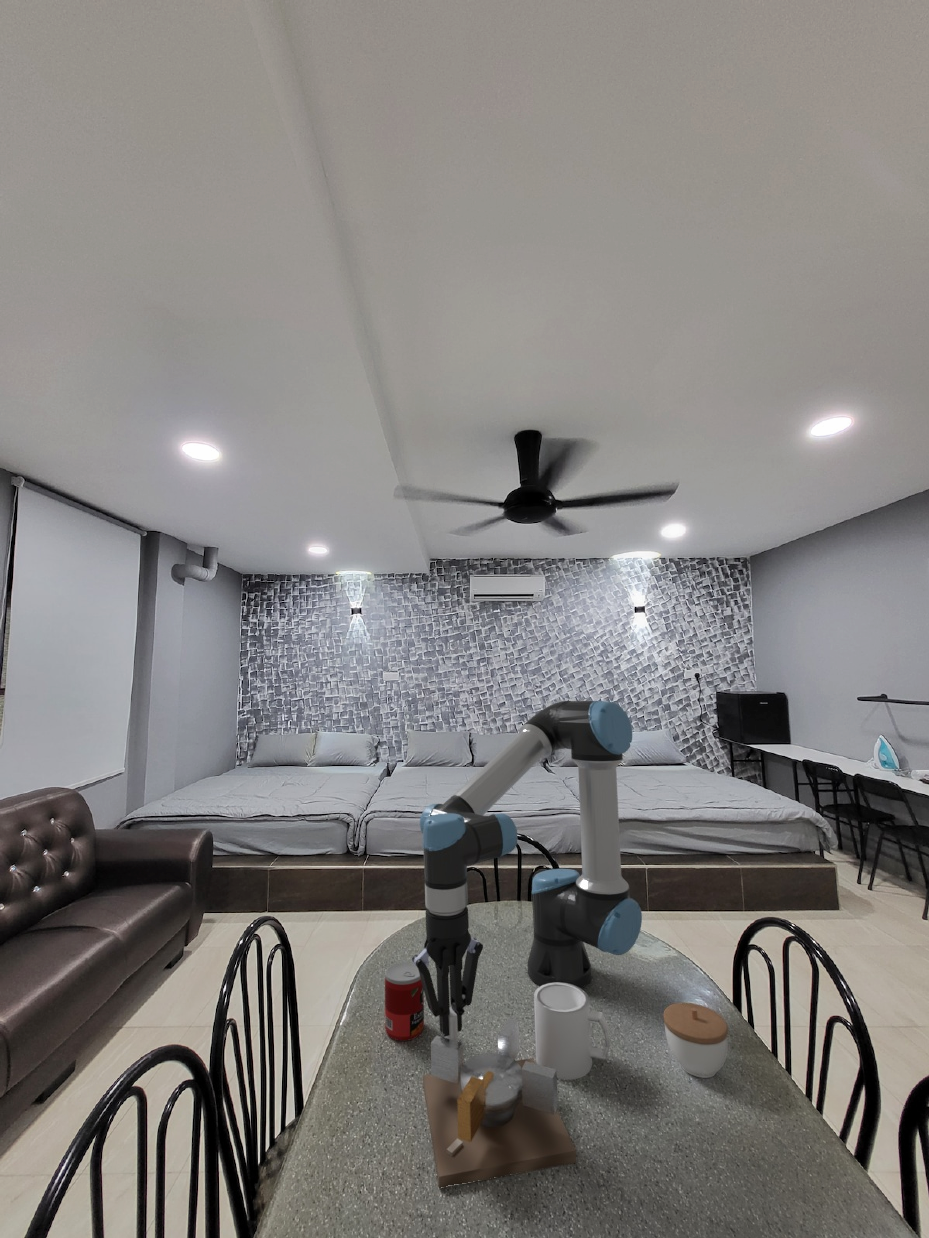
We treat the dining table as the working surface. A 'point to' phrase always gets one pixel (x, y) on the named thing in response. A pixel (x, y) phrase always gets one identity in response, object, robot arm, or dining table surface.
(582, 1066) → the mug
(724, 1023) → the lidded jar
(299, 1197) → the dining table surface
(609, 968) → the dining table surface
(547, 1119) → the wooden base plate
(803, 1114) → the dining table surface
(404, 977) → the canned food
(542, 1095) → the silver spoked hub
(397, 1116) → the dining table surface
